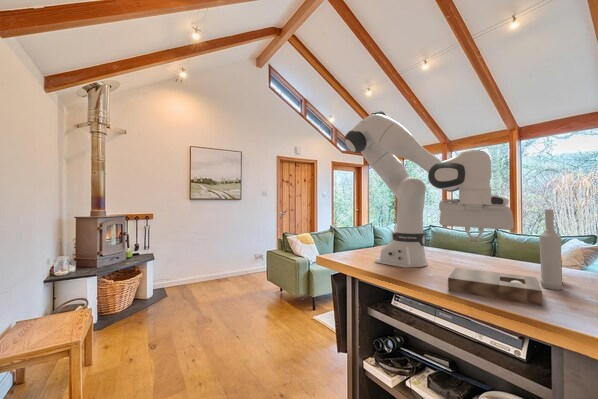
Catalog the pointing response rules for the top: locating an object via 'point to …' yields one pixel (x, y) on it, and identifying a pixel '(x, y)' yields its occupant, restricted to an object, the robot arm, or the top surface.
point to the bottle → (550, 254)
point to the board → (496, 285)
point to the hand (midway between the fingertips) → (474, 241)
